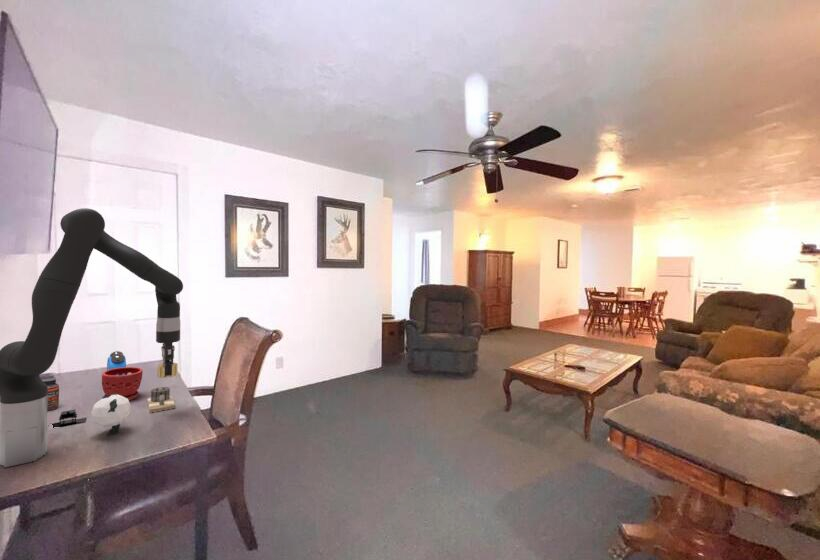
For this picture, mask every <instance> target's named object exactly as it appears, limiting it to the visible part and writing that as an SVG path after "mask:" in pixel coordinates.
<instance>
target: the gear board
mask: <svg viewBox="0 0 820 560" xmlns="http://www.w3.org/2000/svg"><path fill="white" fill-rule="evenodd" d="M170 389H171V388H170V387H169V386H160V387H155V388H152V389H151V390H150V397H148V398H147V399H146V400H147V401H148V402H147V401H146V402H147V407H148V411H149V412H150V413H149V414H153V413H152V412H154V413H158V412H157V411H160V412H163V411H162V410H165V411H168V410H167V409H171V410H173V409H172V408H175V409H176V405H175V402H174V399H173V396H172V394H171V393H170V392H171V390H170Z"/></svg>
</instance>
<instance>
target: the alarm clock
mask: <svg viewBox="0 0 820 560" xmlns="http://www.w3.org/2000/svg"><path fill="white" fill-rule="evenodd" d="M106 362H107V363H106V371H107V370H110V369H114V368H122V367H127V360H126V356H125V355H124V353H123V352H122V351H120V350H115V351H113V352H111V353H110V354H109V357H107V361H106ZM116 375H119V374H116ZM122 375H125V373H123V374H122Z"/></svg>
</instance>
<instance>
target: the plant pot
mask: <svg viewBox="0 0 820 560" xmlns="http://www.w3.org/2000/svg"><path fill="white" fill-rule="evenodd" d="M123 373H125V375H122V374H123ZM116 374H119V375H116ZM142 379H143V369H142V368H141V367H134V366H126V367H122V368H114V369H110V370H107V369H106V370H105V371H103V372H102V373H101V388H102V391H103V393H104V395H103V396H102V397H104V396H107V394H109V395H113V394H115V393H117V394H118V395H120V396H123V397H125V398H127V399H128V400H129V401H132V400H133V399H135V398H137V397H138V396H139V393H140V392H139V391H138V390H139V389H140V386H141V383H142Z"/></svg>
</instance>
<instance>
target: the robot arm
mask: <svg viewBox="0 0 820 560" xmlns="http://www.w3.org/2000/svg"><path fill="white" fill-rule="evenodd" d="M59 224H60V227H61V230H62V232H63V233H64V235H63V236H62V237H63V238H62V241H61V243H60V245H59V247H58V248H57V250H56V252H55V253H54V255H53V256H52V257H51V258H50V259H49V261H48V262H47V264H46V265H45V266H44V268H43V270H42V271H41V273H40V274H39V277H38V278H37V281H36V283H35V285H34V288H33V291H32V294H31V311H32V313H31V314H32V321H31V327H30V330H29V331H28V333H27V336H26V338H25V340H20V341H12V342H9V343H8V344H6V345H4V346H3V347H1V348H0V466H3V468H4V467H5V468H9V467H13V466H17V465H18V466H19V465H23V464H27V463H28V464H29V463H32V461H33V462H36V461H38V459H40V458H42V457H43V455H44V456H45V455H47V453H46V452H48V411H47V403H48V387H47V385H46V384H45V383H44V382H43V381H42V380H43V379H42V378H41V377H40V375H43V374H44V373H45V372H46V371H48V370H49V369H50V368H51V366H52V365H53V363H54V361H55V359H56V357H57V353H58V350H59V346H60V341H61V337H62V333H63V329H64V327H65V325H66V322H67V320H68V317H69V314H70V311H71V310H72V309H71V308H72V306H73V304H74V301H75V299H76V298H77V294H78V293H79V292H78V291H79V290H80V287H81V284H82V282H83V278H84V277H85V273H86V270H87V267H88V264H89V260H90V257H91V255H92V252H93V250H96V251H98V252H99V253H102V254H103V255H105V256H106V257H108V258H109V259H111V260H113V261H115V262H116V263H117V264H119V265H121V266H122V267H123V268H125V269H126V270H128V271H129V272H131V273H132V274H134V275H135V276H137V277H138V278H140V279H141V280H143V281H145V282H148V283H150V284H151V285H153V286H155V287H154V288H155V289H154V291H155V298H156V303H157V313H156V314H157V317H156V325H155V326H156V327H155V328H156V329H155V341H156V343H157V344H162V346H161V348H160V349H161V357H162V361H163V363H164V365H165V376H169V375H172V365H173V363H175V362H174V358H175V350H176V349H175V348H176V347H175V345H173V343H179V341H180V340H181V318H180V317H181V314H180V313H181V305H180V303H179V302H178V299H177V295H179V294H180V293H181V292H182V291H183V290H184V283H183V281H182V280H181V278H179V277H178V276H177V275H175V274H174V273H171V272H170V271H168V270H167V269H165V268H163V267H161V266H159V264H157V262H154V261H153V260H152V259H150V258H149V257H148V256H146V255H145V254H143V253H141V252H140V251H138V250H137V249H134V248H132V247H131V246H128V245H127V244H124V243H122V242H120V241H119V240H118V239H116V238H114V237H113V236H111V235H110V234H109V233H107V232H106V231H105V228H106V222H105V219H104V217H103V215H102V214H101V213H99V211H97V210H95V209H93V208H88V207H87V208H85V207H83V208H78V209H77V208H76V209H75V210H72V211H70V212H67V213H66V214H65V215H63V216H62V218H61V219H60V223H59ZM163 363H162V364H163Z"/></svg>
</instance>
